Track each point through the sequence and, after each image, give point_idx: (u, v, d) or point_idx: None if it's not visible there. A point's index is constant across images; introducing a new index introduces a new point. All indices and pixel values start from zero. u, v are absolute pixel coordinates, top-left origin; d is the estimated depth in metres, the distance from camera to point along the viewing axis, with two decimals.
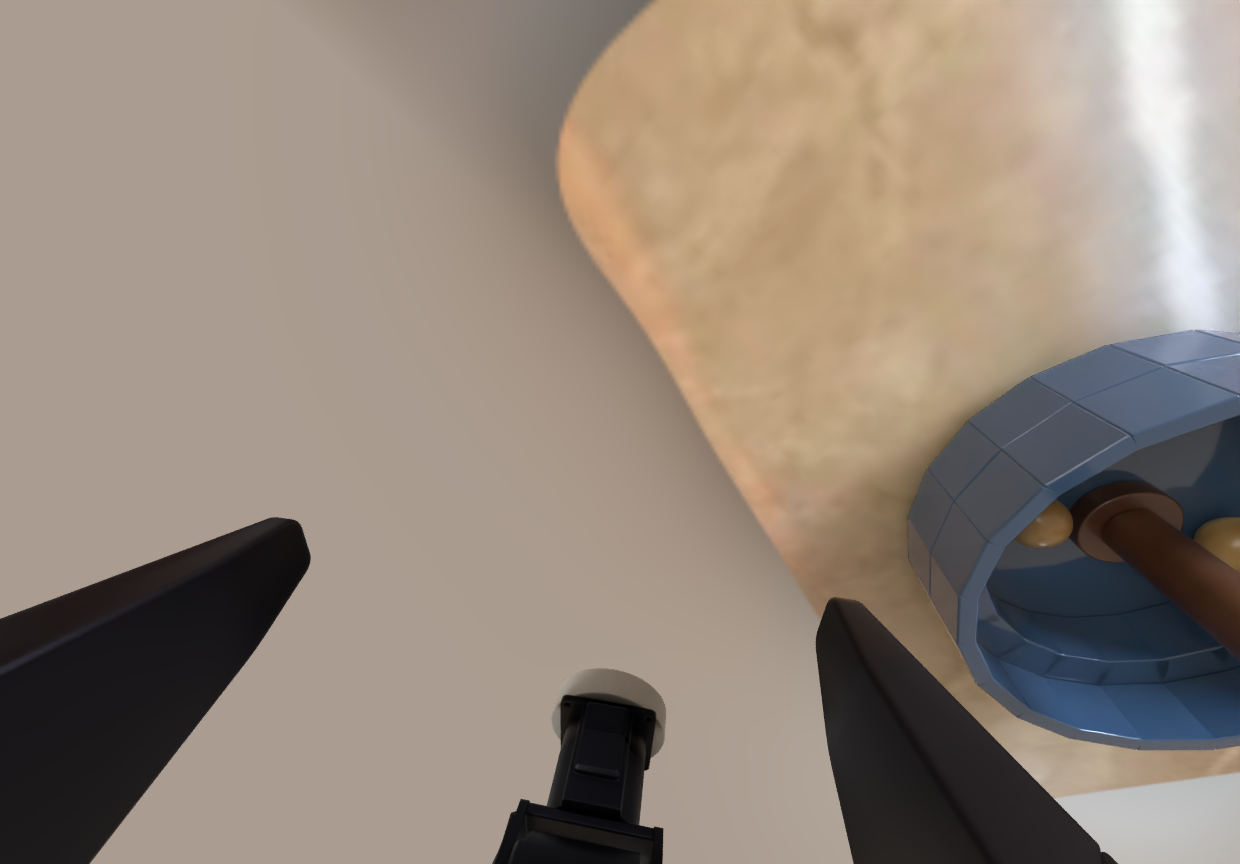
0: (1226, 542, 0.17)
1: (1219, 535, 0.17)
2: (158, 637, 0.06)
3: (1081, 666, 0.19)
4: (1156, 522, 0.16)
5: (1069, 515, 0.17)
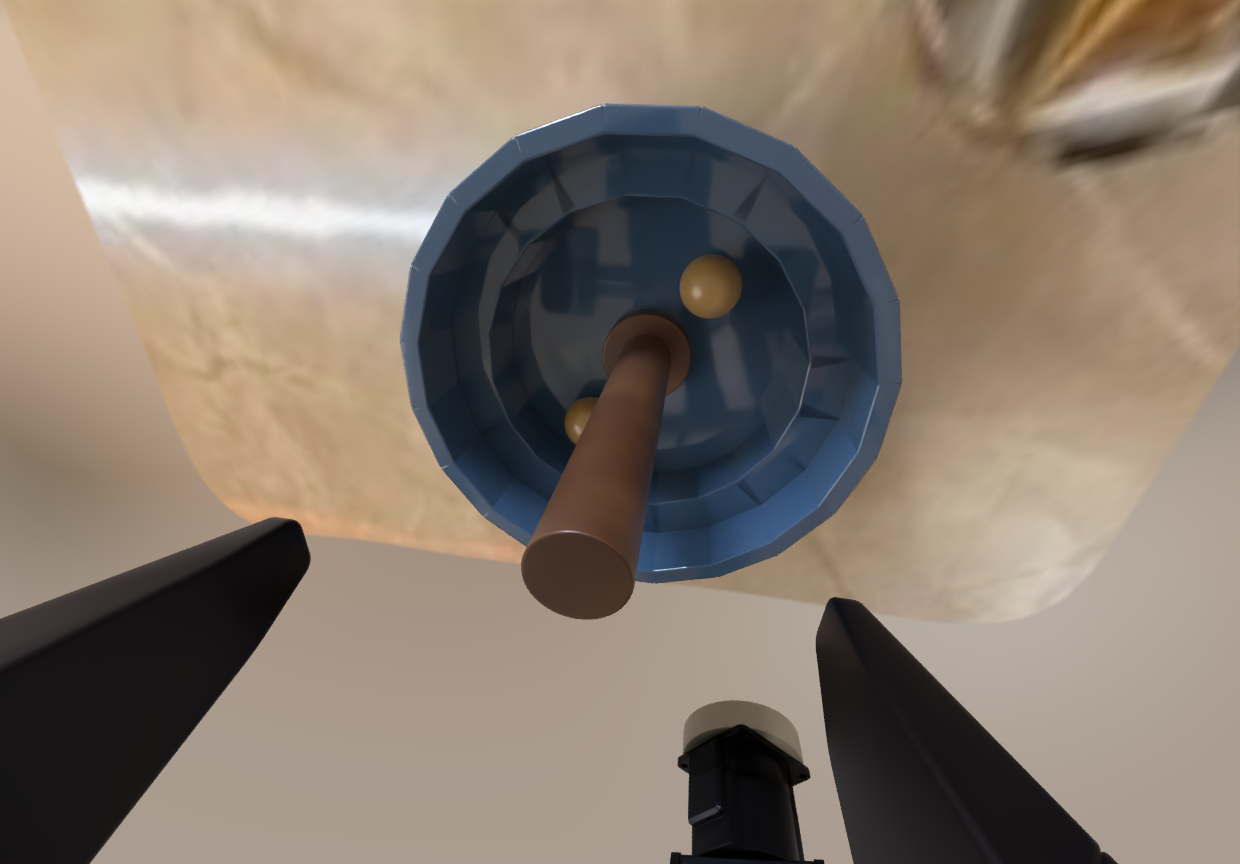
0: (685, 303, 0.16)
1: (682, 301, 0.16)
2: (158, 637, 0.06)
3: (765, 472, 0.17)
4: (620, 353, 0.16)
5: (580, 408, 0.18)
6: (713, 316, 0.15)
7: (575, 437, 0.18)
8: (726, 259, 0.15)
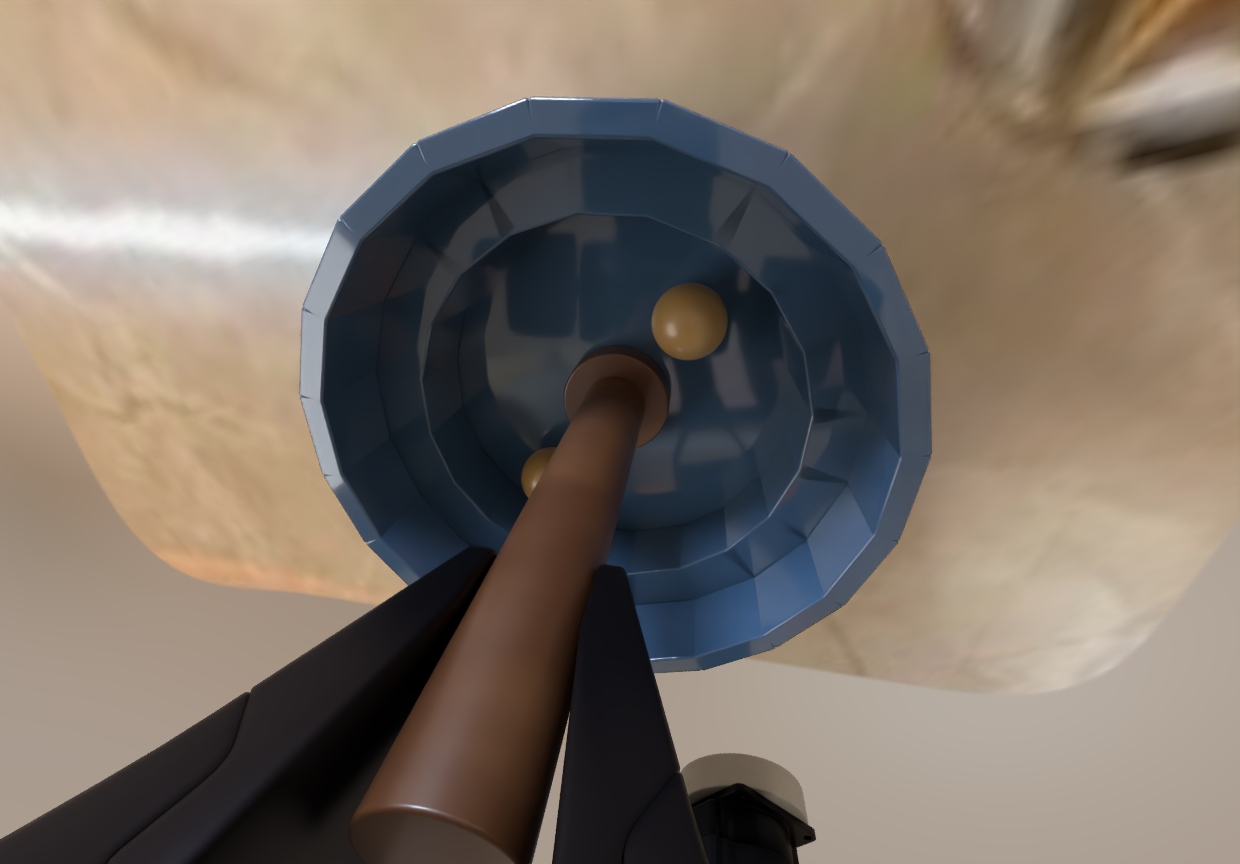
0: (658, 343, 0.13)
1: (655, 339, 0.13)
2: (415, 682, 0.06)
3: (759, 542, 0.14)
4: (582, 401, 0.14)
5: (538, 463, 0.15)
6: (692, 358, 0.13)
7: None
8: (707, 290, 0.12)
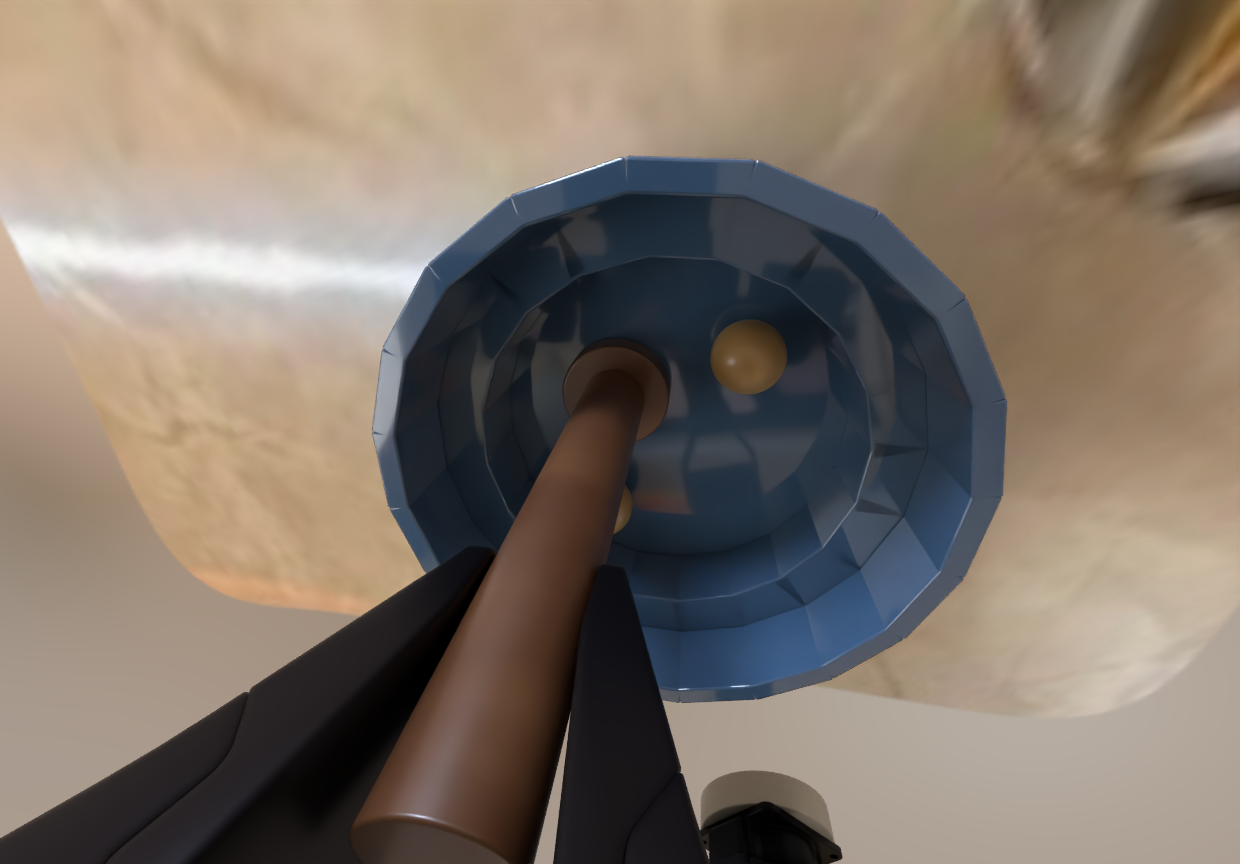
0: (718, 377, 0.13)
1: (714, 373, 0.13)
2: (414, 682, 0.06)
3: (811, 571, 0.14)
4: (581, 395, 0.13)
5: None
6: (752, 393, 0.13)
7: None
8: (769, 327, 0.12)
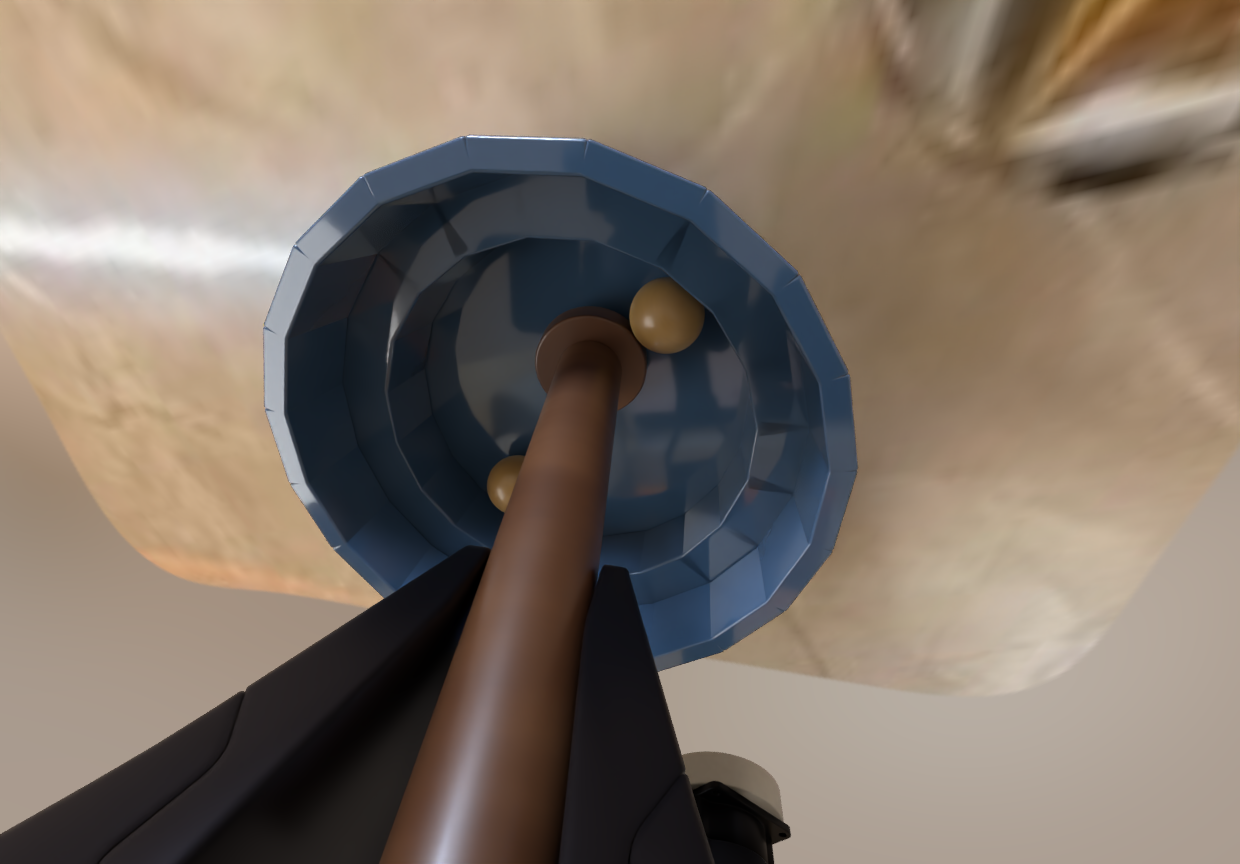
0: (650, 327, 0.12)
1: (642, 329, 0.12)
2: (410, 682, 0.06)
3: (712, 548, 0.15)
4: (559, 364, 0.13)
5: (502, 471, 0.15)
6: (686, 341, 0.12)
7: (497, 504, 0.15)
8: None
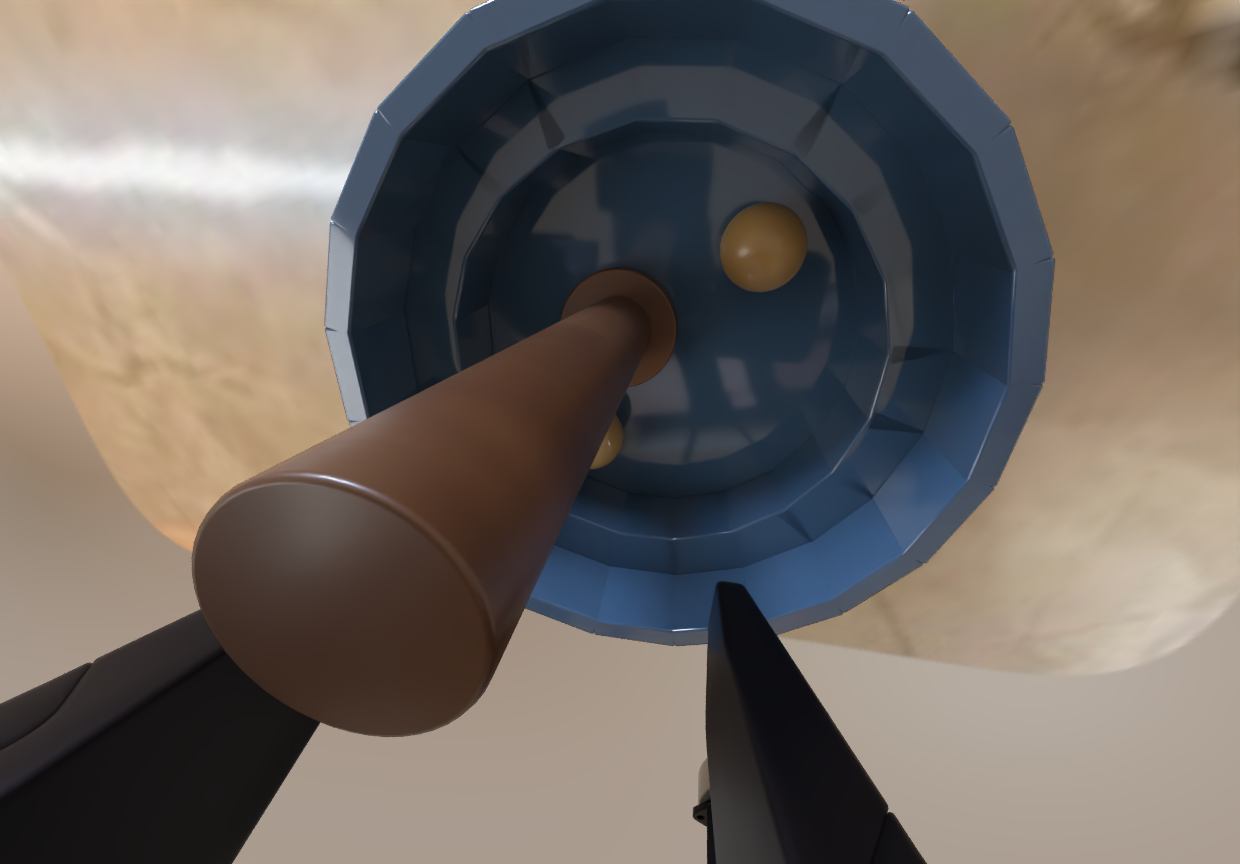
0: (734, 272, 0.11)
1: (727, 270, 0.11)
2: None
3: (819, 501, 0.13)
4: None
5: None
6: (774, 286, 0.11)
7: None
8: (787, 207, 0.11)
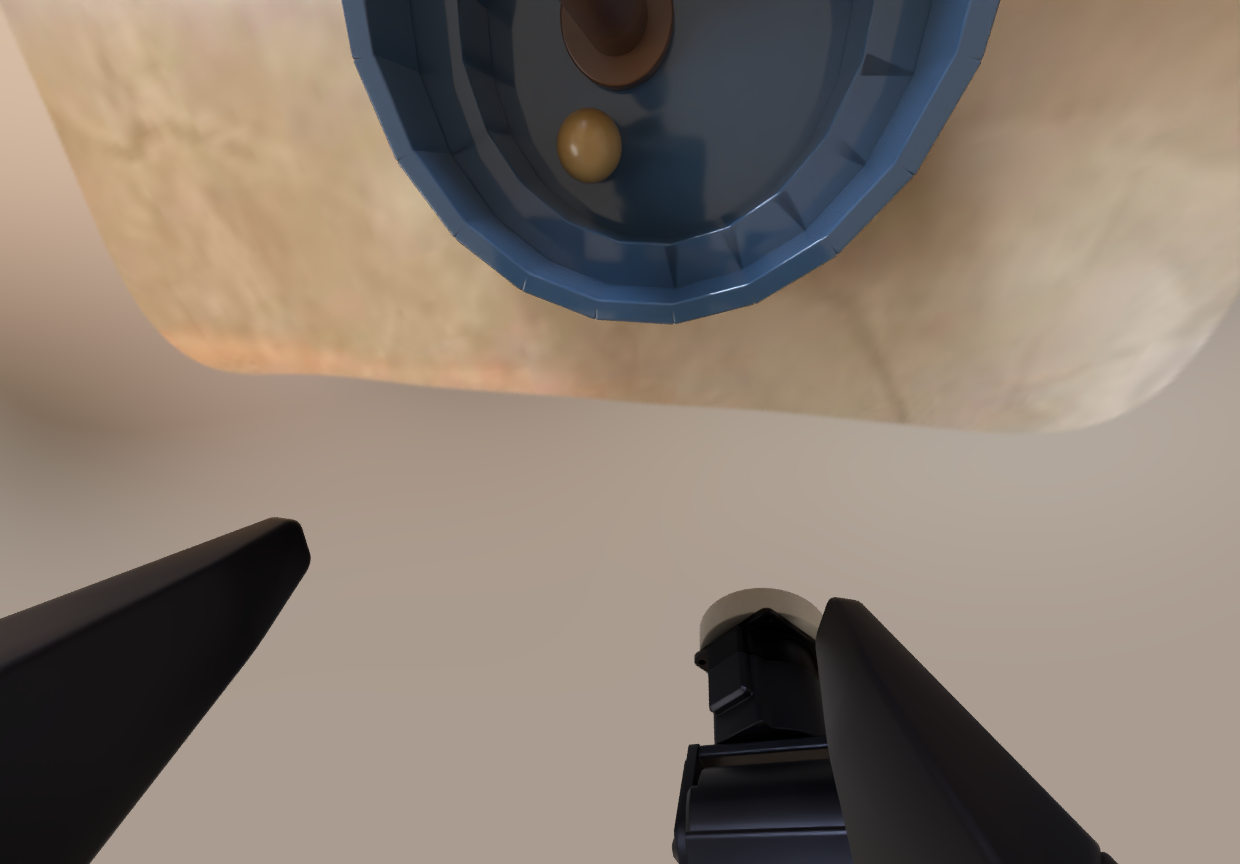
0: None
1: None
2: (158, 637, 0.06)
3: (813, 176, 0.13)
4: None
5: (576, 112, 0.14)
6: None
7: (570, 153, 0.14)
8: None
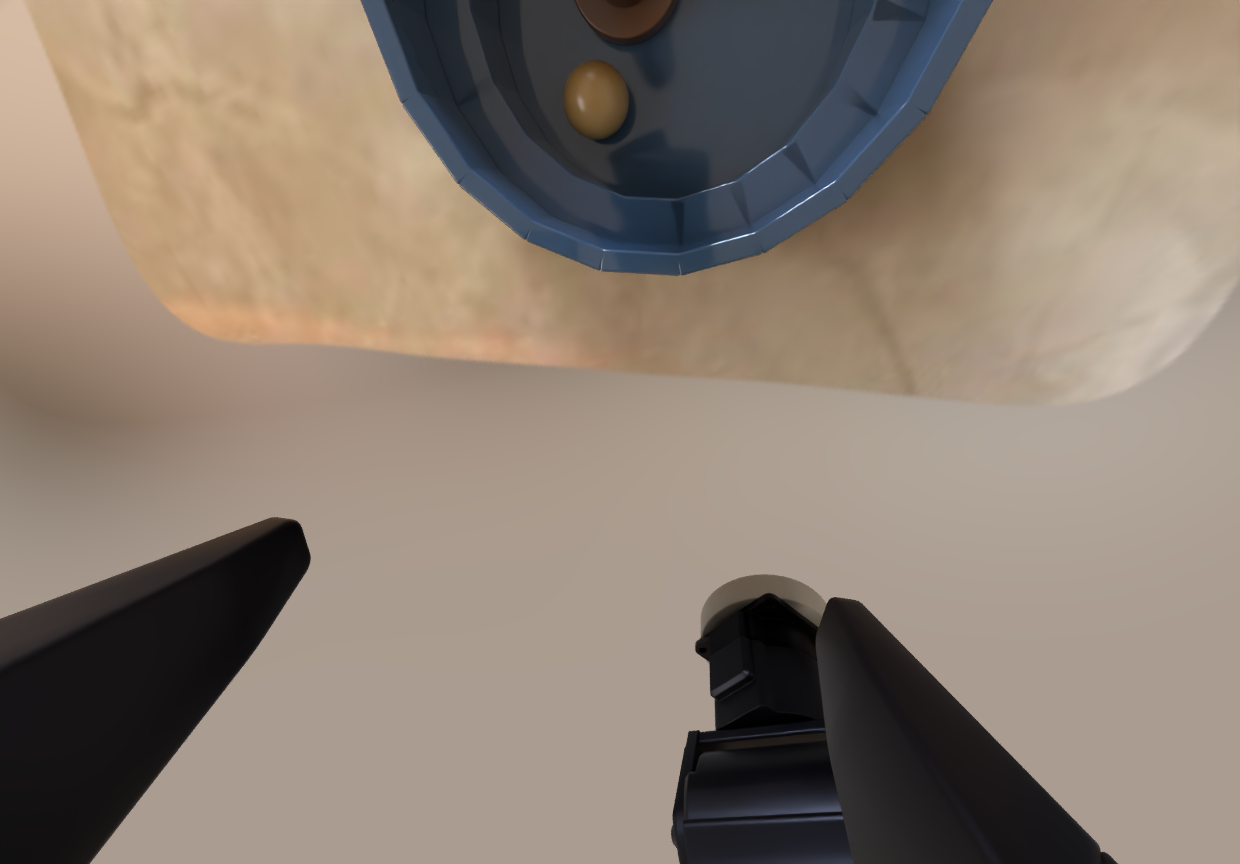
0: None
1: None
2: (158, 637, 0.06)
3: (822, 127, 0.13)
4: None
5: (584, 64, 0.14)
6: None
7: (577, 105, 0.14)
8: None
